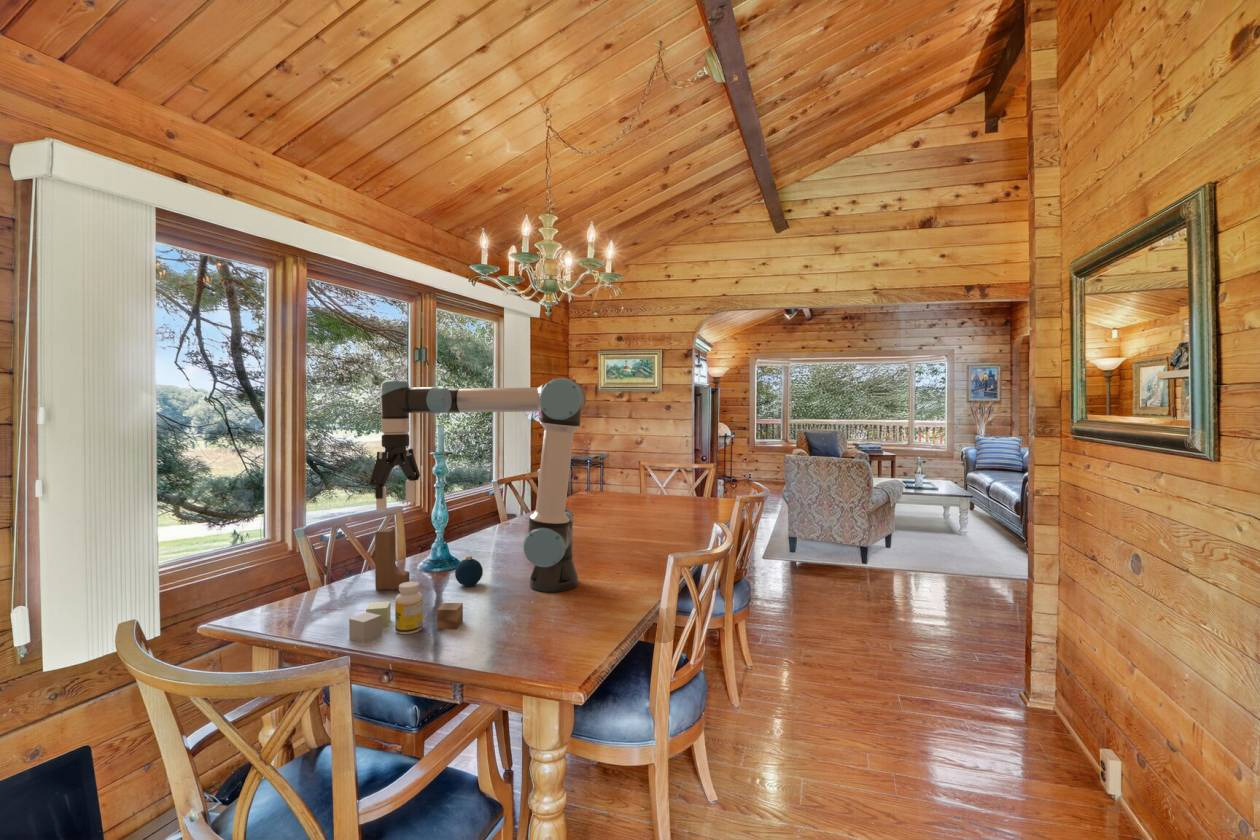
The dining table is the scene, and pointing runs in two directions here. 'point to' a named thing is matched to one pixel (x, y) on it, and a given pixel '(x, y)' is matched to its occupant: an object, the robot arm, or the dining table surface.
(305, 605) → the dining table surface
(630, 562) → the dining table surface
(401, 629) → the pill bottle
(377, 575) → the wooden block
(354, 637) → the taupe cube
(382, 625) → the sage cube
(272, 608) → the dining table surface
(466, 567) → the christmas ornament
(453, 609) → the walnut cube
